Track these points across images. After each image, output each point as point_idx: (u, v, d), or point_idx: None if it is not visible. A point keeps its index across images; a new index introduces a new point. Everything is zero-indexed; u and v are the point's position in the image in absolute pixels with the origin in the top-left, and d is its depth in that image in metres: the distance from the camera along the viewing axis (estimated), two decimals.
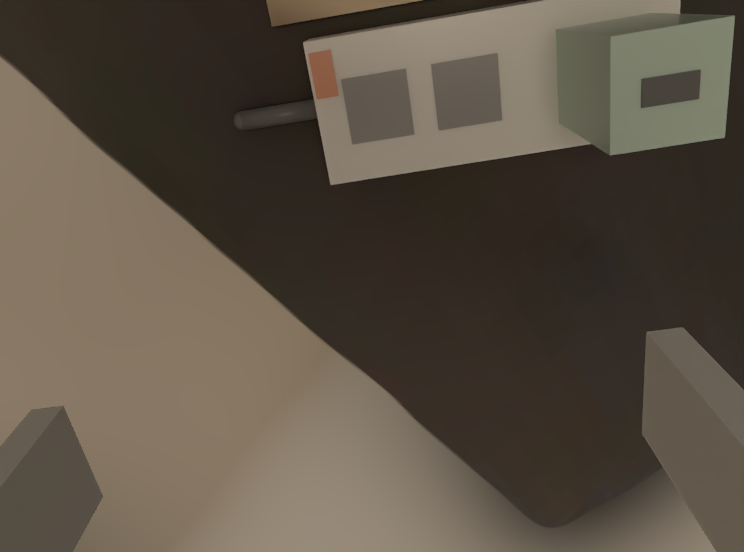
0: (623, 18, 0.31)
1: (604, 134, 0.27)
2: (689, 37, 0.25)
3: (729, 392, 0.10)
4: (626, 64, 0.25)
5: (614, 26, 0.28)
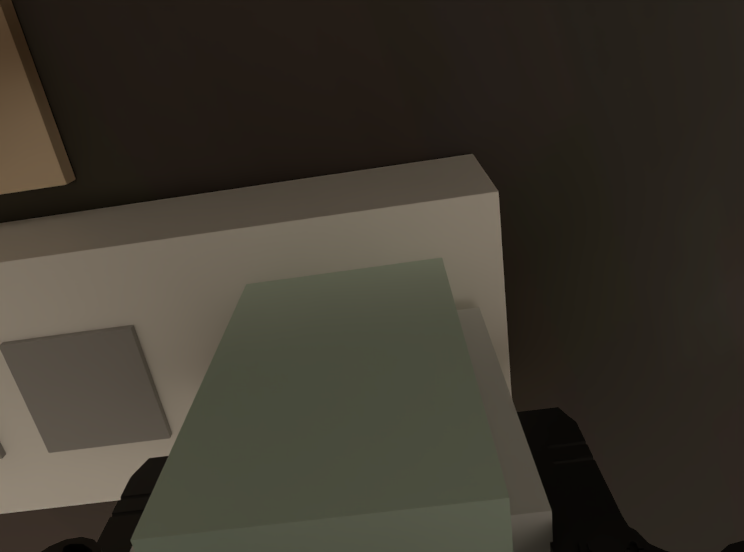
0: (376, 275, 0.14)
1: None
2: (377, 543, 0.08)
3: (484, 358, 0.13)
4: None
5: (289, 360, 0.11)
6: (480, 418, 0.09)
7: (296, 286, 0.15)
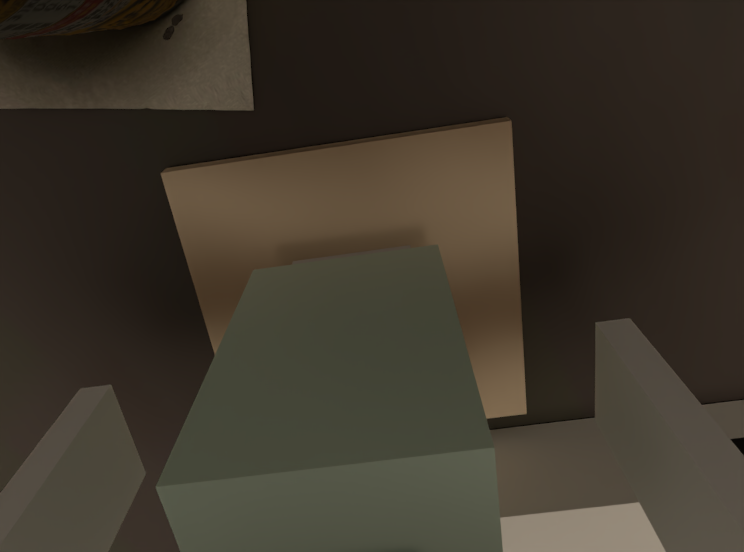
0: (376, 260, 0.15)
1: None
2: (376, 490, 0.09)
3: (663, 377, 0.11)
4: (219, 541, 0.09)
5: (295, 336, 0.12)
6: (470, 382, 0.10)
7: (300, 271, 0.16)
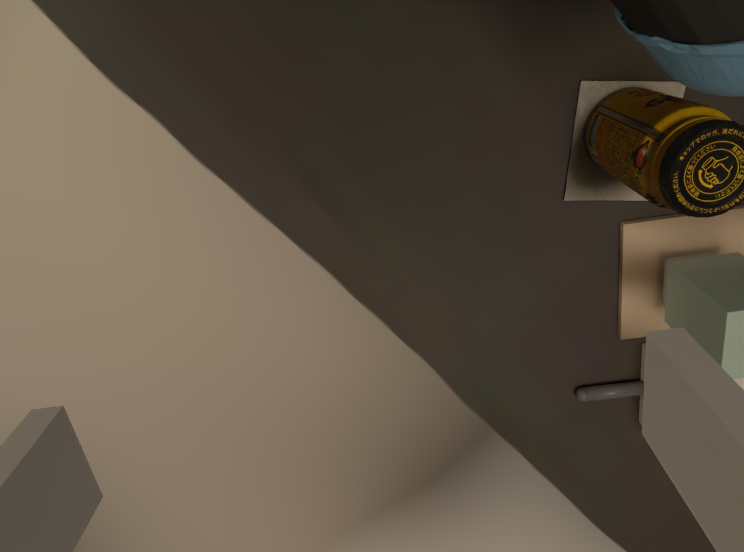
0: (718, 258, 0.43)
1: None
2: None
3: (729, 392, 0.10)
4: (736, 328, 0.37)
5: (719, 281, 0.40)
6: None
7: (690, 261, 0.43)
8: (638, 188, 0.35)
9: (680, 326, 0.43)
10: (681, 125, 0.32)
